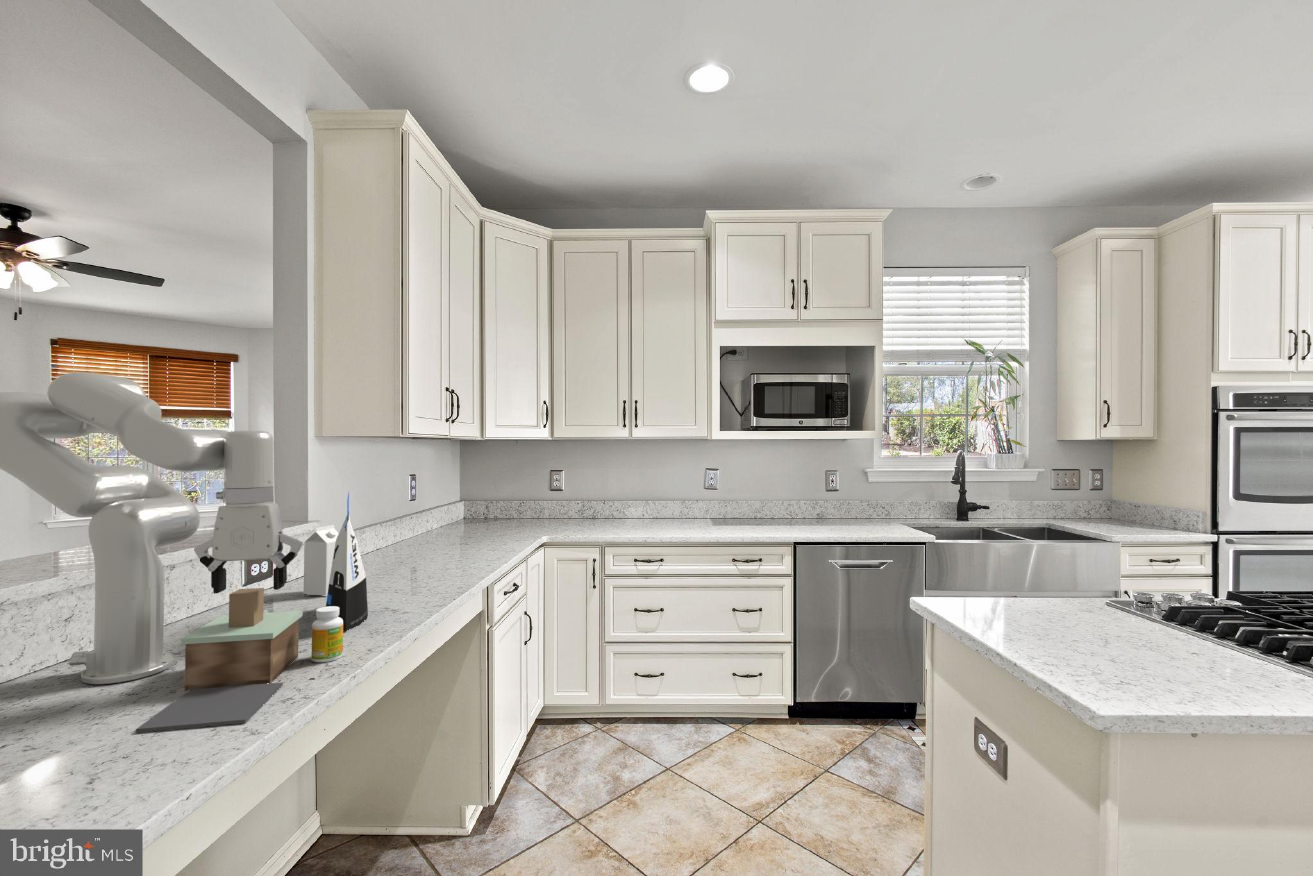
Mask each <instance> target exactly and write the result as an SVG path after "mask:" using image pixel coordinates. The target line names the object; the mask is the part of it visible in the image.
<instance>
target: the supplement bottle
mask: <svg viewBox="0 0 1313 876" xmlns="http://www.w3.org/2000/svg"><path fill="white" fill-rule="evenodd" d="M338 615H339V607H337V606H328V607H326V606H323V607H319V608H317V609H316V612H315V617H316V620H314V621H313V623H312V625H311V655H310V657H311V661H312V662H314V663H326V662H327V663H329V662H333V661H336V660H338V659H340V658H342V656H343V653H344V651H343V649H344V631H343V620H342V619H341V618H340V617H338Z"/></svg>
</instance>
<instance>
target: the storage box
mask: <svg viewBox="0 0 1313 876" xmlns="http://www.w3.org/2000/svg"><path fill="white" fill-rule="evenodd" d="M299 621H300V618H299V619H298V620H297V621H295V622H294V623H293V624H291V625H290V626H289V627H288V628H286V629H285V630H284V631H282V632H281V633H280V634H279V635H277V636H276V637H275V638H273V639H262V640H245V641H229V642H212V643H196V644H185V652H184V653H185V658H184V659H185V660H184V661H185V662H184V668H185V669H184V691H189V690H190V689H204V688H217V687H230V686H243V685H256V684H267V683H272V681H273V680H274V679H275V680H276V679H277V678H279V676H280V675H282V673H283V672H284V671H285V670H287V668H289V667H290V666H291V663H292V662H293V661H294V662H295V661H296V660H298V658H299V626H300V625H299ZM294 662H293V663H294ZM293 663H292V664H293ZM275 680H274V681H275ZM274 681H273V682H274Z"/></svg>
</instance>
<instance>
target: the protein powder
mask: <svg viewBox="0 0 1313 876" xmlns="http://www.w3.org/2000/svg"><path fill="white" fill-rule="evenodd" d="M346 500H347V505H346V506H347V511H346V516H345V520H344V521H343V523H342V526H341V528H340V530H339V532H338V533H339V534H338V536H337V539H336V543H335V549H334V555H333V561H332V567H331V574H330V580H329V587H328V594H327V596H326V602H325V607H328V606H337V607H339V615H338V617H340V618H341V619H342V620H343V632H346V633H347V630H348V631H350V630H352V629H354V627H355V628H357V627H359V626H360V625H362V624H363V623H364V622H365V621H364V620H366V621H367V619H368V616H369V610H368V609H369V607H368V590H367V589H368V588H367V576H366V571H365V568H364V564H363V561H362V556H361V552H360V548H359V545H358V544H359V543H358V539H357V536H356V533H355V531H354V528H353V526H352V523H351V517H350V516H351V515H350V509H349V508H350V491H348V493H347V499H346ZM362 622H363V623H362ZM361 623H362V624H361ZM356 626H357V627H356ZM349 629H350V630H349Z"/></svg>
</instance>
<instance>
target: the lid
mask: <svg viewBox="0 0 1313 876" xmlns="http://www.w3.org/2000/svg"><path fill="white" fill-rule="evenodd" d="M264 589H265V588H264V587H258V588H257V587H255V588H238V589H237V590H235V591H233V592H231V593H229V594H228V595H229V596H228V597H229V598H228V614H222V615H220V616H218V617H216V618H215V619H213V620H211V621H209V622H208V623H206V624H203V625H202V626H200V627H199V628H197V629H195V630H193V631H192V632H189V633H188V634H186V635H184V636H182V637H181V638H180V645H186V644H196V643H212V642H229V641H245V640H262V639H273V638H275V637H276V636H277V635H279V634H280V633H281V632H282V631H284V630H285V629H286V628H288V627H289V626H290V625H291V624H293V623H294V622H295V621H297V620H298V619H299V620H300V618H302V617H303V610H294V611H293V610H292V611H279V612H275V611H274V612H264V607H265V606H264V599H265V597H264V595H265V591H264Z"/></svg>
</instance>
